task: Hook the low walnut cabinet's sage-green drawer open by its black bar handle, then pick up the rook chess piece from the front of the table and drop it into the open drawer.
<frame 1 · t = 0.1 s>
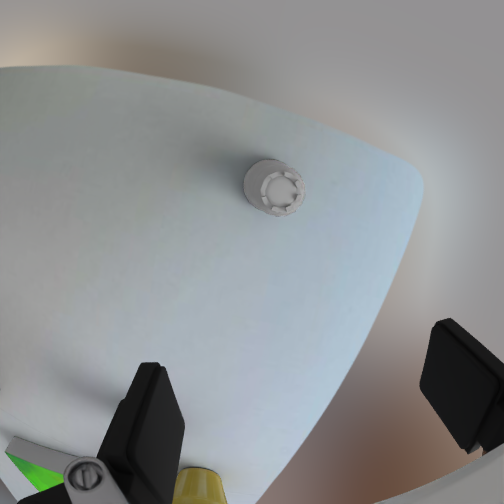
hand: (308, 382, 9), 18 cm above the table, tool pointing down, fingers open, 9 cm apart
rook chess piece: (269, 184, 26), on the table
flower pot: (200, 476, 37), on the table
tray: (86, 485, 39), on the table
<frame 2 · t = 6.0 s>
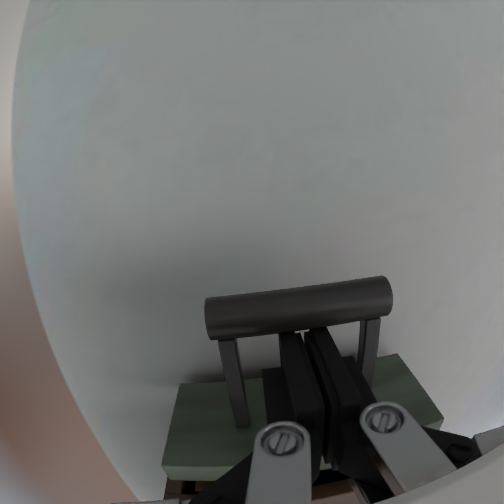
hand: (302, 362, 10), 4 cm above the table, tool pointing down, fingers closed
cabinet: (294, 467, 18), on the table
drawer: (301, 465, 13), point 4 cm above the table, slide at 1.1 cm
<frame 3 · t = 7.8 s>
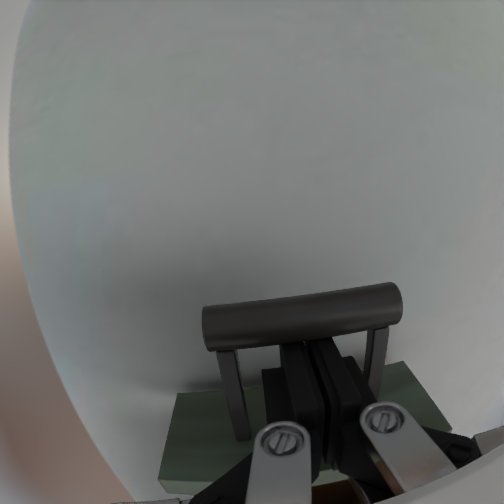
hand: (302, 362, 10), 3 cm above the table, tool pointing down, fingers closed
drawer: (304, 476, 12), point 4 cm above the table, slide at 7.6 cm, touching gripper
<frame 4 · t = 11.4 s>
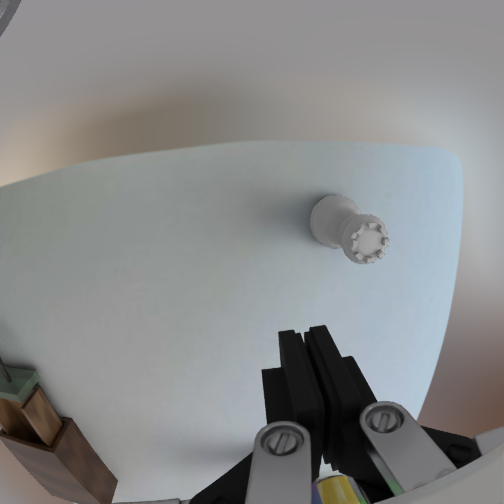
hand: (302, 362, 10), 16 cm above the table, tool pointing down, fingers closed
rook chess piece: (332, 219, 25), on the table
flower pot: (332, 483, 37), on the table
cabinet: (66, 448, 33), on the table
drawer: (17, 405, 26), point 4 cm above the table, slide at 8.0 cm
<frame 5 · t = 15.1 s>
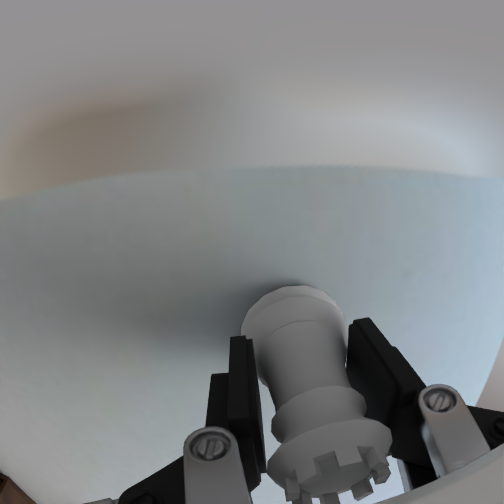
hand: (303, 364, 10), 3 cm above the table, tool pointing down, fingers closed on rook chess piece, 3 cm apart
rook chess piece: (291, 326, 13), on the table, touching gripper
cabinet: (15, 496, 21), on the table
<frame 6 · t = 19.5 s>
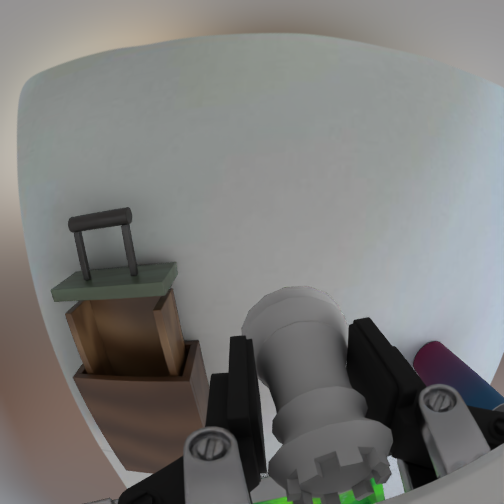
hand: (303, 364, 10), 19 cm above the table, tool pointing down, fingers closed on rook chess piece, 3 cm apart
rook chess piece: (291, 326, 13), point 16 cm above the table, touching gripper
cup: (427, 356, 34), on the table
cabinet: (162, 396, 33), on the table
drawer: (123, 322, 26), point 4 cm above the table, slide at 8.0 cm
tray: (313, 494, 42), on the table
when the fingers open (6 cm above the table, at t = 24.2 s): rook chess piece drops 2 cm, resting on drawer.
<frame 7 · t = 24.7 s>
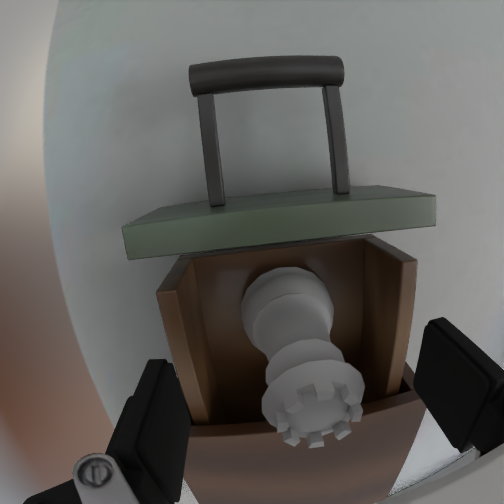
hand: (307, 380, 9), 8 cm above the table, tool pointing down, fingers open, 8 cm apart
rook chess piece: (284, 303, 15), point 2 cm above the table, touching drawer
cabinet: (289, 428, 20), on the table
drawer: (289, 305, 13), point 4 cm above the table, slide at 7.9 cm, touching rook chess piece
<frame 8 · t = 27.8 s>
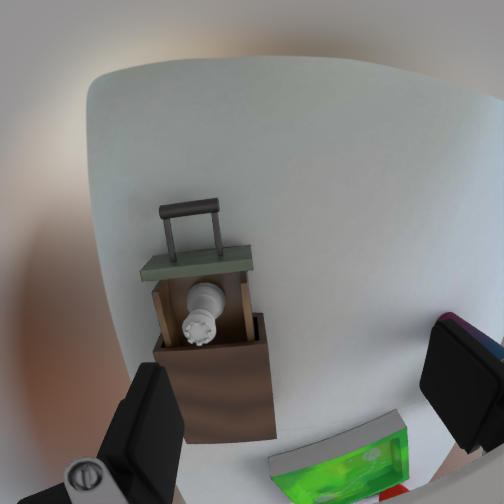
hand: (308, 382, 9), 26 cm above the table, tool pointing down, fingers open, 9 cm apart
apple: (389, 486, 54), on the table
rook chess piece: (206, 298, 35), point 2 cm above the table, touching drawer
cup: (444, 325, 40), on the table
cabinet: (223, 369, 40), on the table
drawer: (204, 298, 33), point 4 cm above the table, slide at 7.9 cm, touching rook chess piece
tray: (345, 464, 48), on the table
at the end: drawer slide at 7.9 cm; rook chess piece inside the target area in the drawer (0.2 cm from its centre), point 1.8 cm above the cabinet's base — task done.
